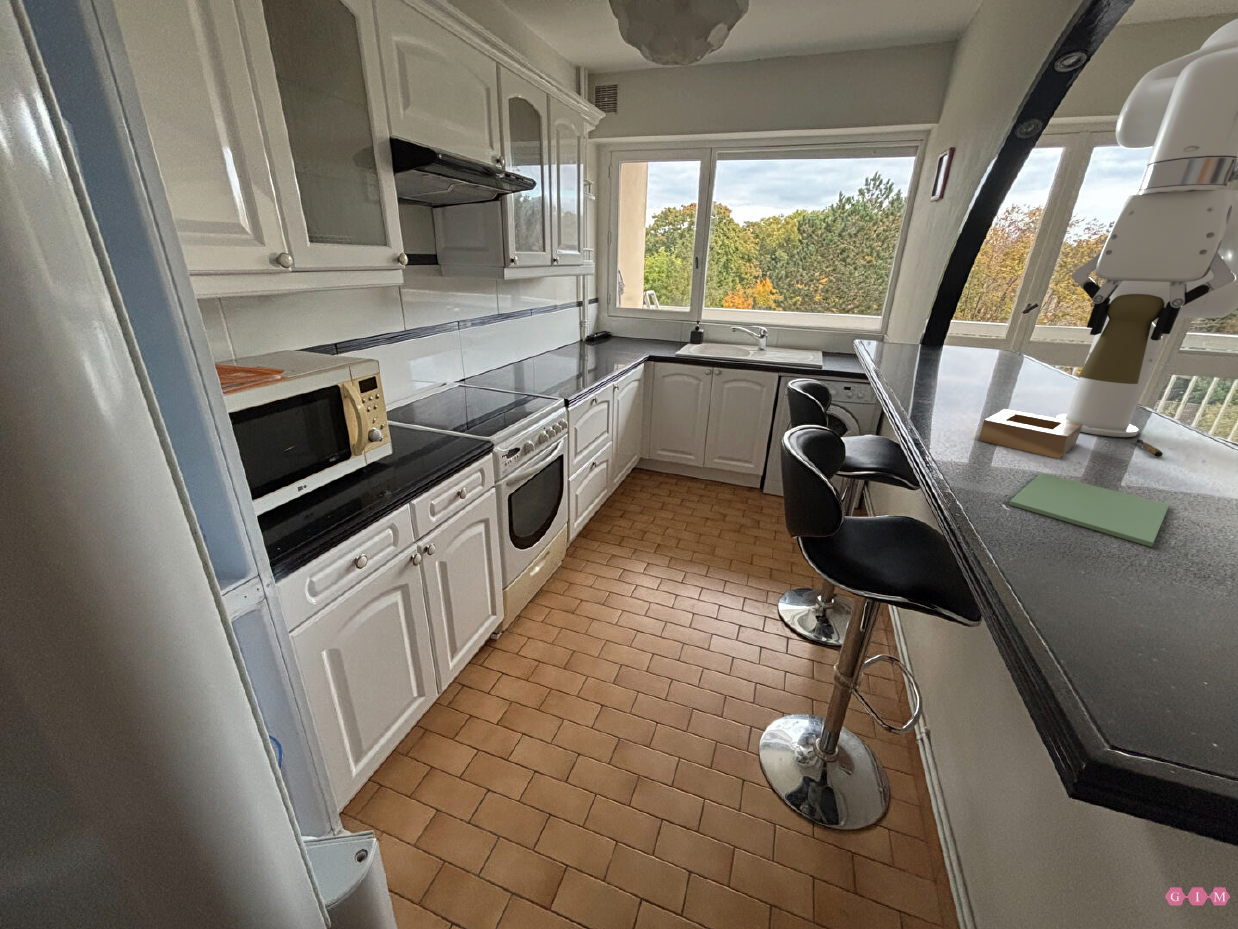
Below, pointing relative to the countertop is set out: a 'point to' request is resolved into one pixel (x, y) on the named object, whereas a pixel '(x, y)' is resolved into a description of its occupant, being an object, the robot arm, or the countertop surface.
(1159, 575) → the countertop surface
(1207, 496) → the countertop surface
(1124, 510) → the mat
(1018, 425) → the holder
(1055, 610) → the countertop surface
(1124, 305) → the cork
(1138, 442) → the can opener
